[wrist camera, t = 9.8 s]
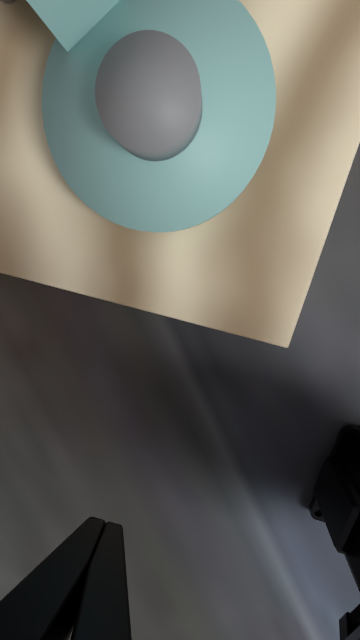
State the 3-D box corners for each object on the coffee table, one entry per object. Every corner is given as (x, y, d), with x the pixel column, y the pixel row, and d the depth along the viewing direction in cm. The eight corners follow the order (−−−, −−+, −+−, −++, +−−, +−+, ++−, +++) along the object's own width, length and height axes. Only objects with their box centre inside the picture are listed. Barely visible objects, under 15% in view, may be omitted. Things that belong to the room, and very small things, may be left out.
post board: (417, -51, 14) (520, -196, 10) (283, 341, 19) (307, 377, 14) (13, -139, 15) (-82, -317, 10) (-22, 261, 20) (-99, 269, 15)
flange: (315, 141, 15) (362, 97, 10) (140, 272, 17) (112, 287, 12) (90, -225, 13) (17, -497, 8) (-77, -21, 15) (-214, -142, 10)
